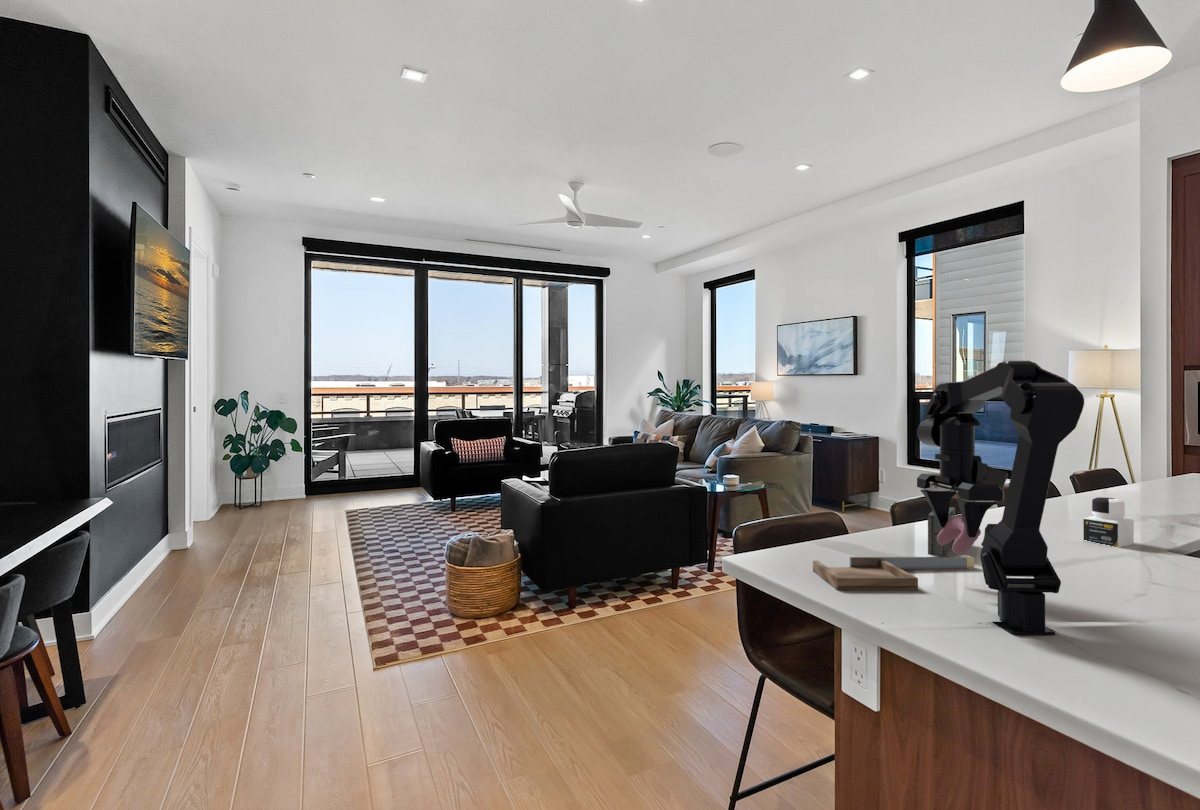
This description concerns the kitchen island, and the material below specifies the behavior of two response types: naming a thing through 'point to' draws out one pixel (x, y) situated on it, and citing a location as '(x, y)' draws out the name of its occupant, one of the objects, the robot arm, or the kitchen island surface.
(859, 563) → the gray metal bar
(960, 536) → the video game controller
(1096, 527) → the medicine bottle
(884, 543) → the kitchen island surface
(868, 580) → the brown wooden tray
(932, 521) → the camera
